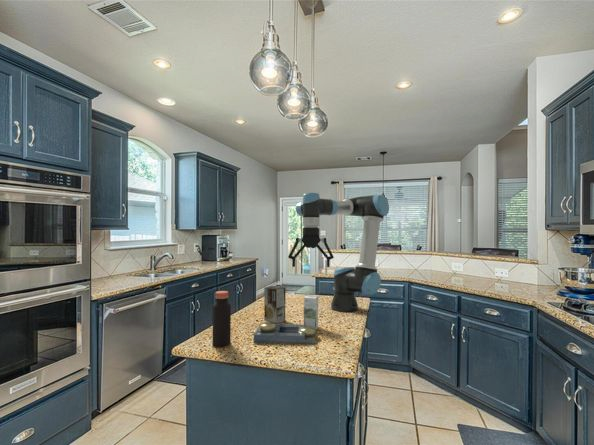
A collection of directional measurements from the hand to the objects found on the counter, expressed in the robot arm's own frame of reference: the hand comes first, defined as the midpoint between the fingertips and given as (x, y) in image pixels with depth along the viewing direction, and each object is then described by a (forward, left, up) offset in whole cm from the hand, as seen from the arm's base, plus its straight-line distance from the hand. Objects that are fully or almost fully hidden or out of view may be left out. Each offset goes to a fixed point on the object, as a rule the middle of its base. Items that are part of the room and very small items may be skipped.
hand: (310, 274), depth 141 cm
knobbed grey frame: (+12, +12, -24) cm, 29 cm away
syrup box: (0, 0, -24) cm, 24 cm away
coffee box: (+18, -12, -24) cm, 33 cm away
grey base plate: (+7, +12, -24) cm, 28 cm away
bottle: (+34, +22, -24) cm, 47 cm away
